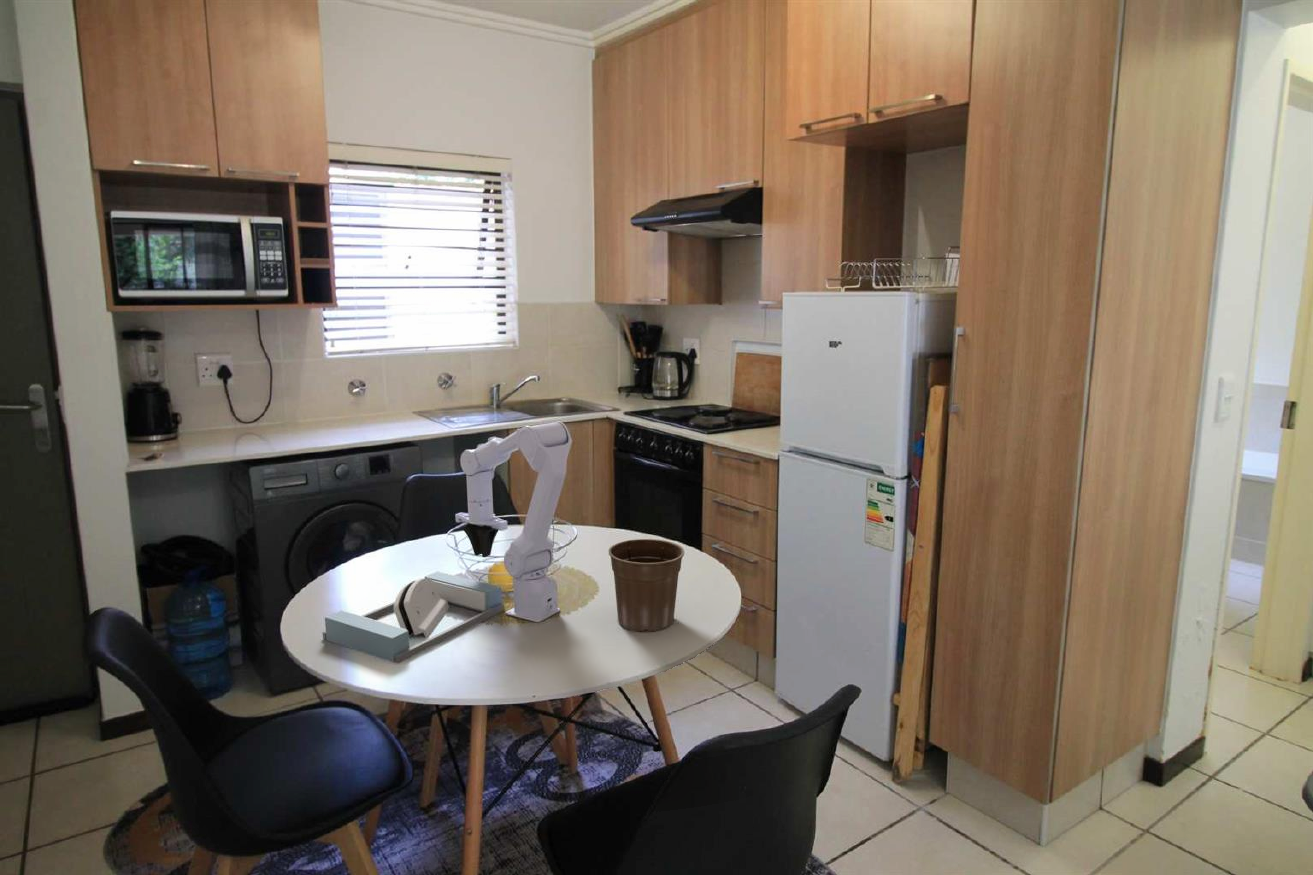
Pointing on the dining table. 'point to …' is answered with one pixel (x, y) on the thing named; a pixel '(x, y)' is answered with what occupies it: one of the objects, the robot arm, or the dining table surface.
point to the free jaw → (466, 591)
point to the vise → (387, 633)
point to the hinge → (419, 607)
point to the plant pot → (646, 582)
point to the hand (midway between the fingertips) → (482, 555)
